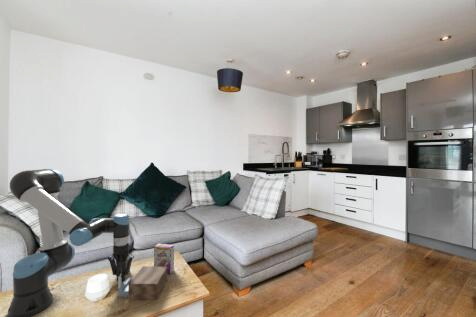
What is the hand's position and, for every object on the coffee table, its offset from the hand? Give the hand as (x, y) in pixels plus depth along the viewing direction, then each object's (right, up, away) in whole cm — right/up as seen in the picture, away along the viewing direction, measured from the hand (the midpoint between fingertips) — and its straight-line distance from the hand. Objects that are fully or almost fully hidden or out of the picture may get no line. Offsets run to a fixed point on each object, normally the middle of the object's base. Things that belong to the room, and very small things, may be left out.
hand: (120, 287), depth 114 cm
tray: (+8, -2, 0) cm, 9 cm away
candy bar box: (+17, -2, +18) cm, 25 cm away
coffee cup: (-7, -1, +17) cm, 18 cm away
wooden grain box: (+15, -2, 0) cm, 15 cm away
